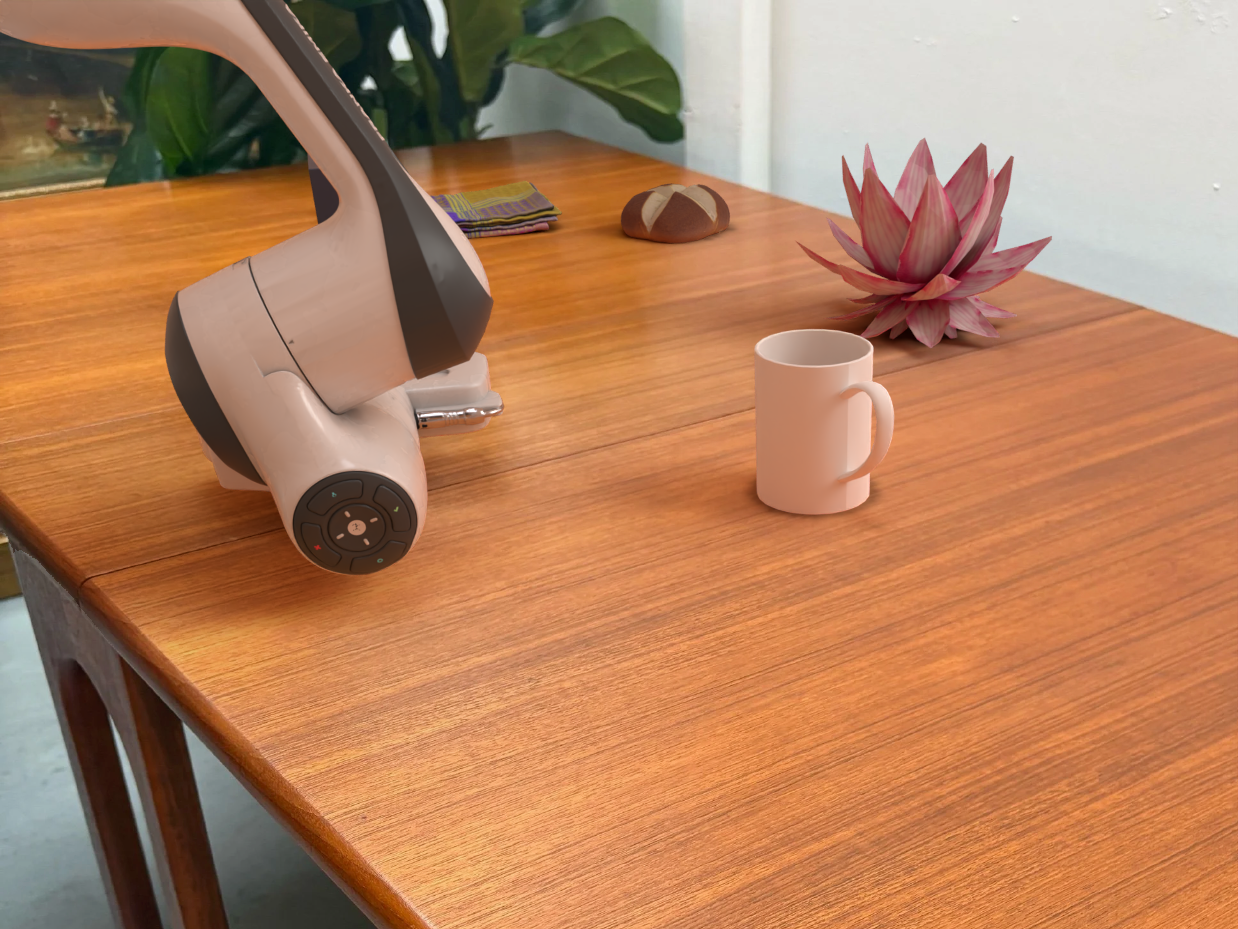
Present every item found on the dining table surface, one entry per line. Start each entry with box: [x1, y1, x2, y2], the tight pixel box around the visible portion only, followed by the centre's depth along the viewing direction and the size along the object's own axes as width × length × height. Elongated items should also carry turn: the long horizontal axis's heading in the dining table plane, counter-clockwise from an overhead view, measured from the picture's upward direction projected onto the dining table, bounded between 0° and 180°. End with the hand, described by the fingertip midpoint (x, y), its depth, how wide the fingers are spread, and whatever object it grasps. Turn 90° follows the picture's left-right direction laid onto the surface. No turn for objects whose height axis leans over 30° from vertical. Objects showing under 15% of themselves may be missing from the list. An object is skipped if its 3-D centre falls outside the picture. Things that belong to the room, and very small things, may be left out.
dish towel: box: [430, 180, 563, 239], centre depth 168 cm, size 18×24×3 cm
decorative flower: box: [795, 137, 1053, 349], centre depth 132 cm, size 21×21×15 cm
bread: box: [620, 183, 731, 244], centre depth 164 cm, size 11×11×5 cm
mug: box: [753, 328, 895, 516], centre depth 101 cm, size 12×8×10 cm, turn 34°
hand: (341, 364), depth 109 cm, fingers open, 8 cm apart
